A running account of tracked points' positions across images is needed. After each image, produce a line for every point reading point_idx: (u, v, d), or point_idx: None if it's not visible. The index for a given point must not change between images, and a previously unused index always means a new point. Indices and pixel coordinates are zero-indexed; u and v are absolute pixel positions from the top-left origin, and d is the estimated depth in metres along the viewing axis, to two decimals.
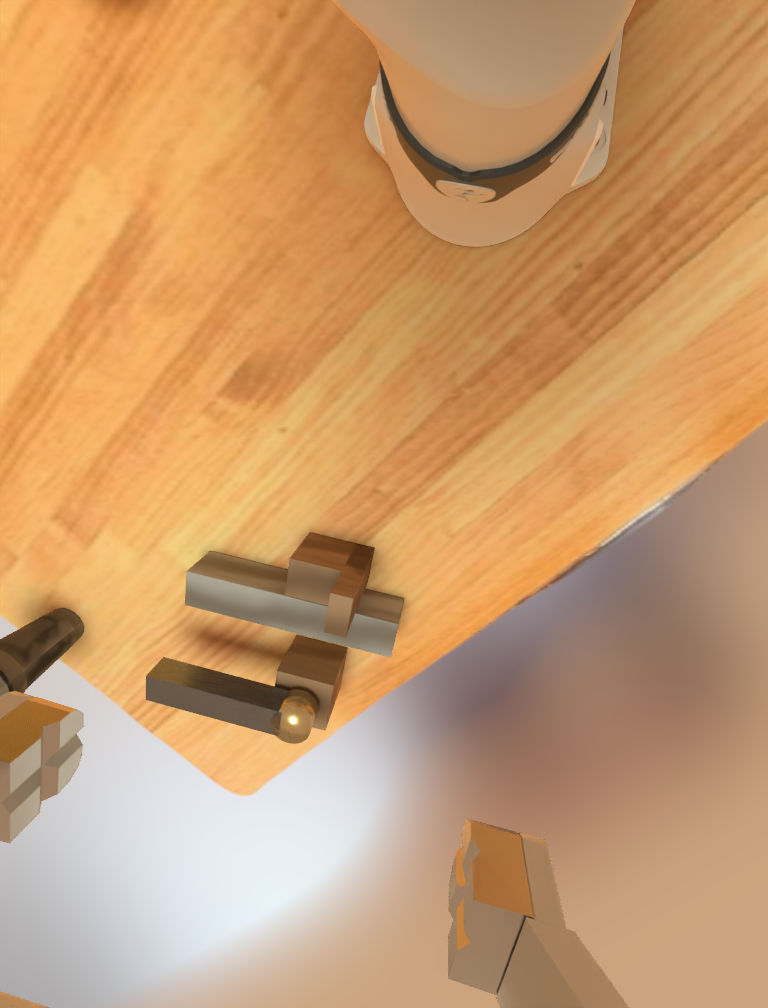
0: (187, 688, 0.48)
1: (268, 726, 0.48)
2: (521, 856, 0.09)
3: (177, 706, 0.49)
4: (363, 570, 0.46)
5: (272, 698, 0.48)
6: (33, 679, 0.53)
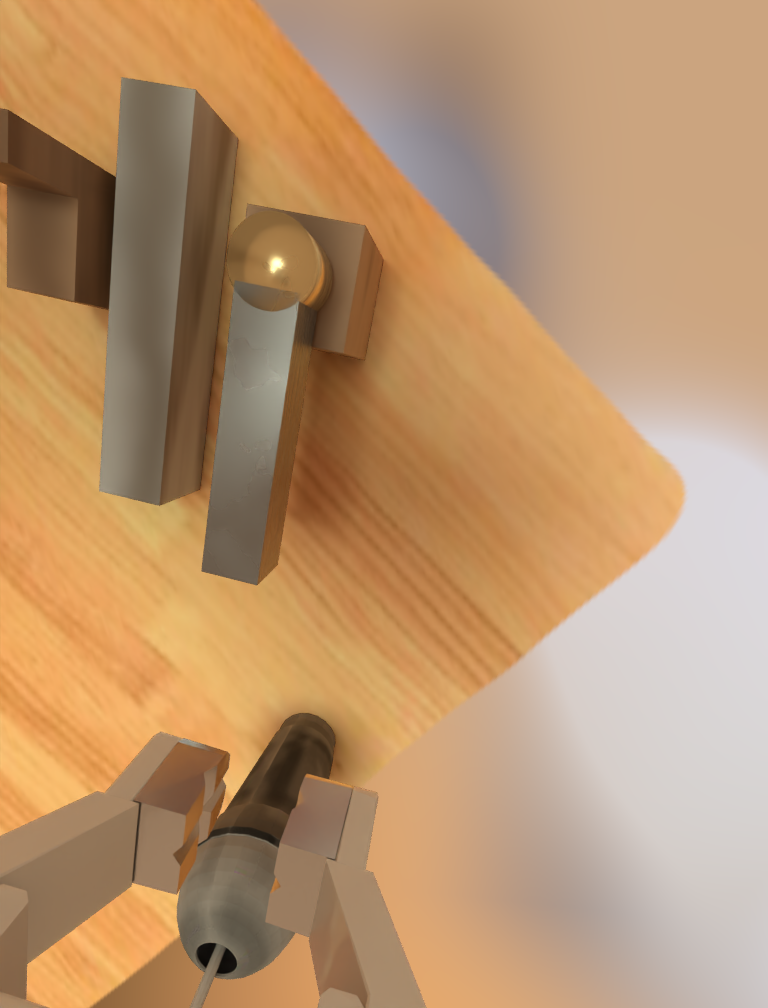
0: (212, 490, 0.24)
1: (278, 316, 0.22)
2: (345, 806, 0.09)
3: (261, 521, 0.24)
4: None
5: None
6: (288, 798, 0.30)
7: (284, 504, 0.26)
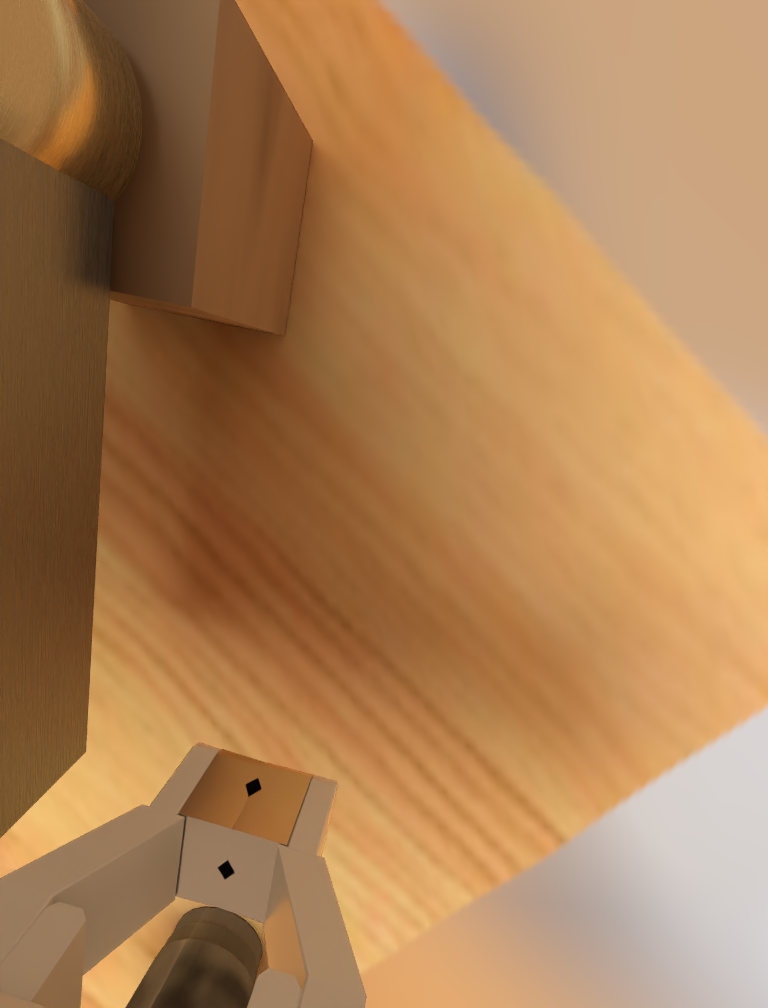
0: None
1: None
2: (302, 794, 0.09)
3: None
4: None
5: None
6: None
7: (78, 642, 0.12)
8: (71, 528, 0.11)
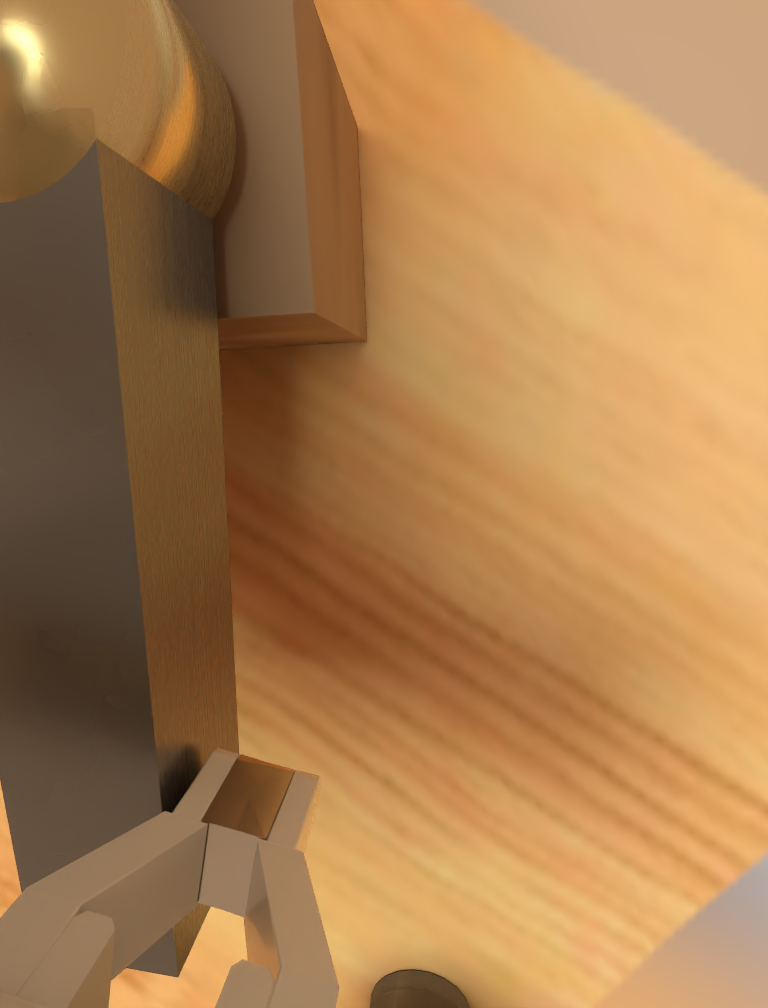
0: (2, 762, 0.08)
1: (44, 214, 0.06)
2: (284, 789, 0.09)
3: None
4: None
5: None
6: None
7: (227, 718, 0.11)
8: (211, 593, 0.10)
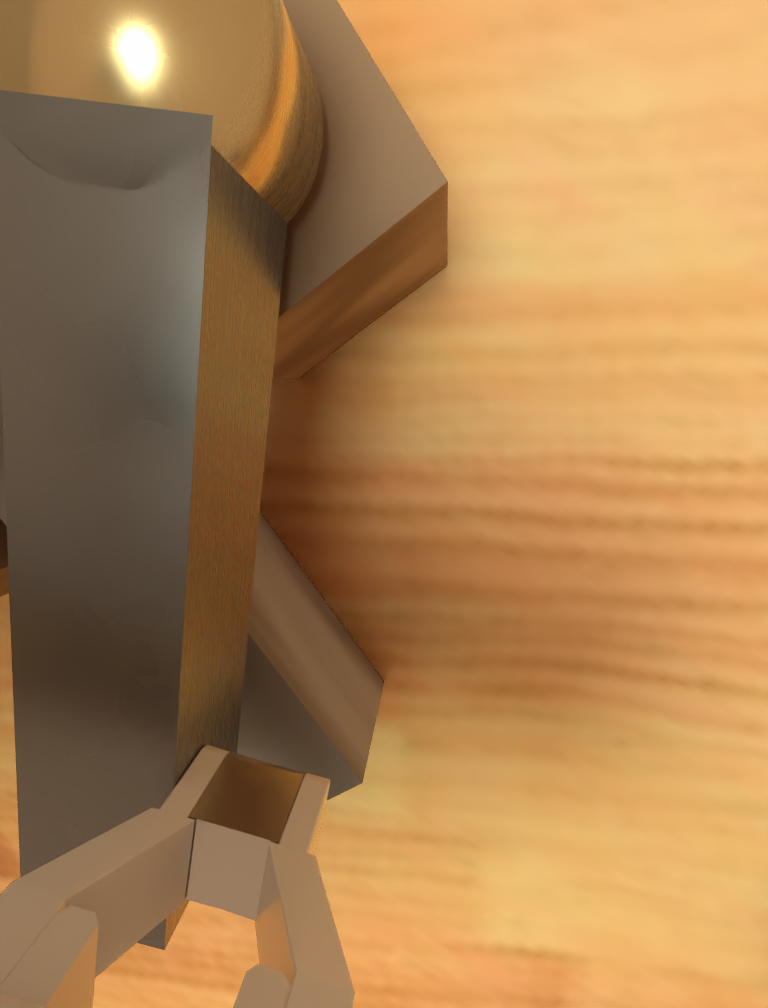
0: (19, 726, 0.09)
1: (147, 209, 0.06)
2: (294, 791, 0.09)
3: (159, 806, 0.09)
4: None
5: None
6: None
7: (234, 704, 0.11)
8: (238, 584, 0.10)
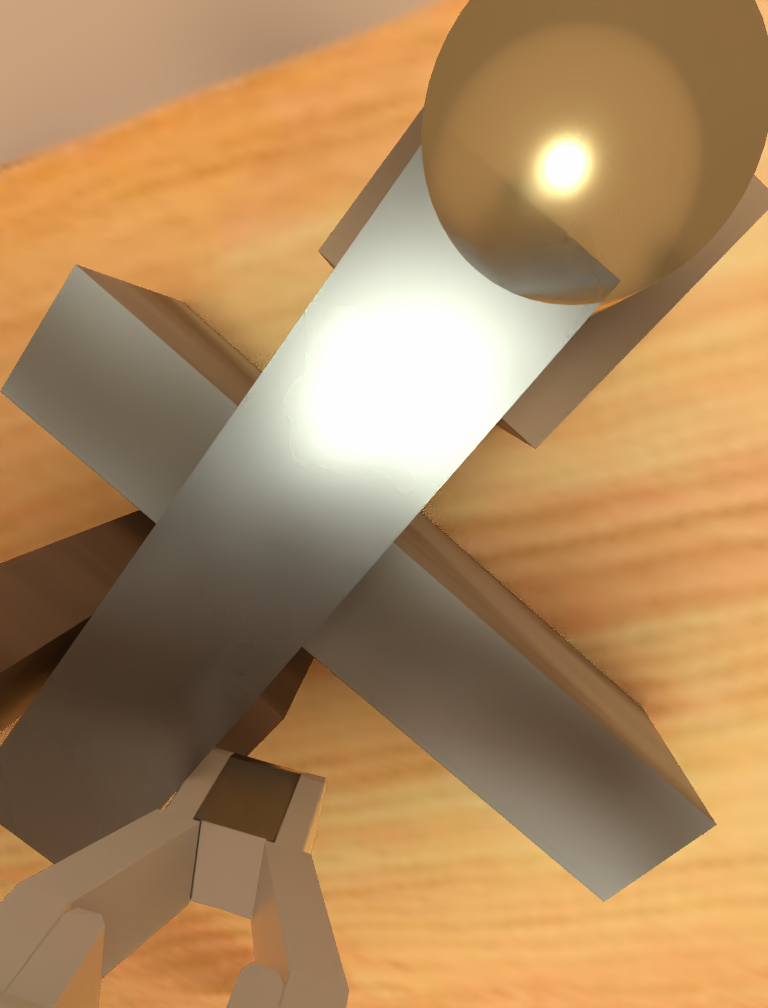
0: (76, 649, 0.08)
1: (510, 313, 0.06)
2: (290, 791, 0.09)
3: (169, 778, 0.09)
4: None
5: None
6: None
7: None
8: None
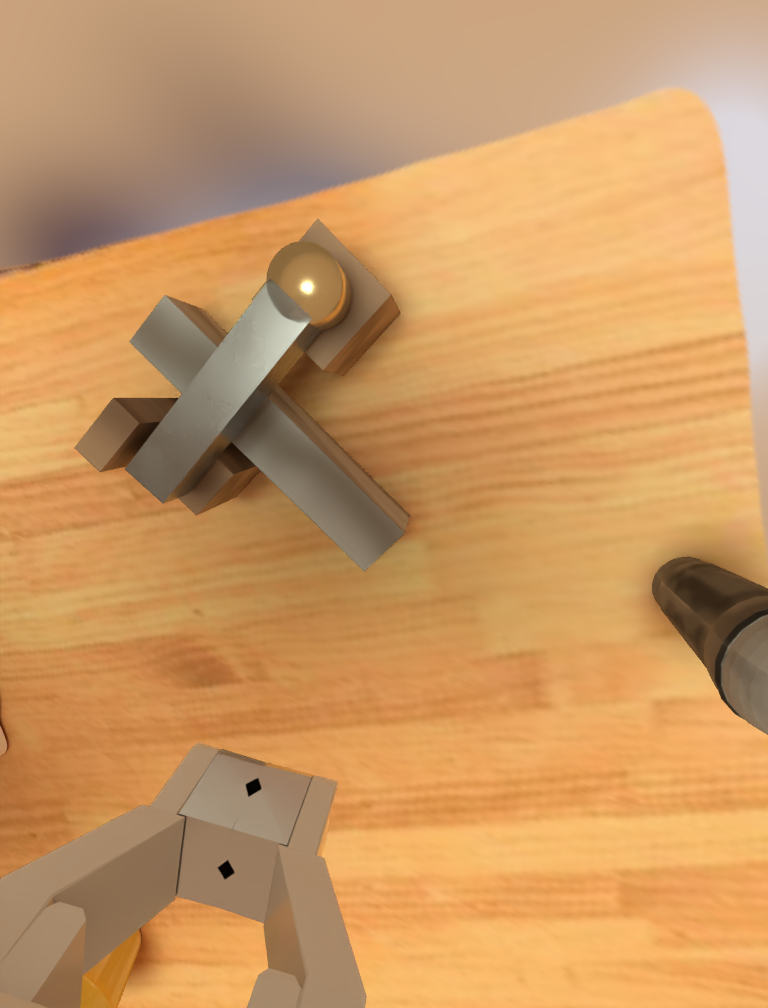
0: (168, 415, 0.28)
1: (287, 324, 0.26)
2: (302, 794, 0.09)
3: (192, 459, 0.28)
4: None
5: None
6: (732, 596, 0.28)
7: (218, 453, 0.31)
8: (246, 417, 0.30)
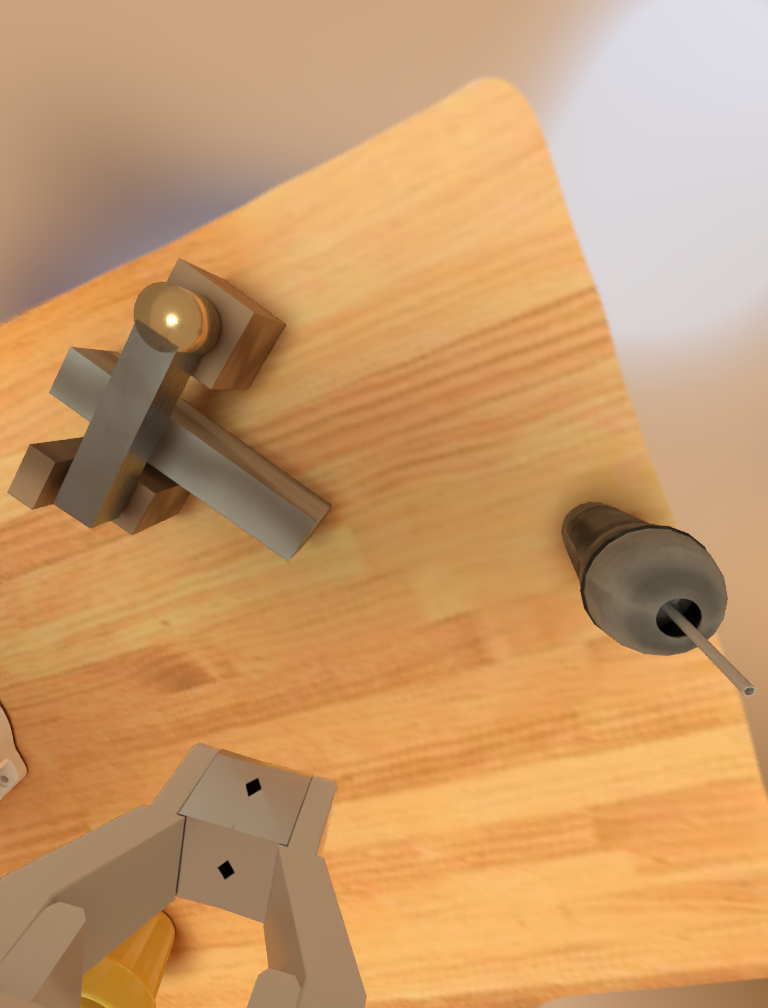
0: (78, 451, 0.32)
1: (159, 355, 0.30)
2: (302, 794, 0.09)
3: (107, 486, 0.32)
4: None
5: None
6: (600, 530, 0.30)
7: (135, 477, 0.35)
8: (150, 441, 0.33)
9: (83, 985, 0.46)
